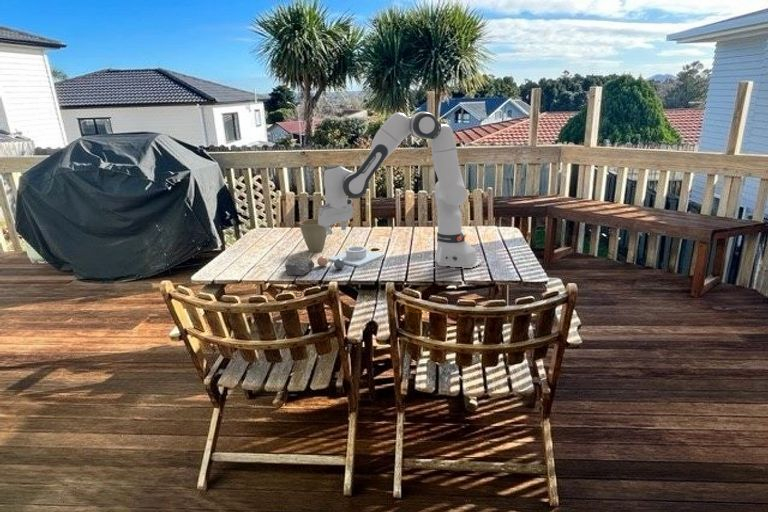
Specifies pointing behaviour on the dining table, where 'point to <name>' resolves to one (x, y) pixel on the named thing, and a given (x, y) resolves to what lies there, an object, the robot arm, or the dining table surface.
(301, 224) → the plant pot
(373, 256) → the ring plate
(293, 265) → the rock
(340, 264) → the steel ball
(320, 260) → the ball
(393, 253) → the dining table surface
